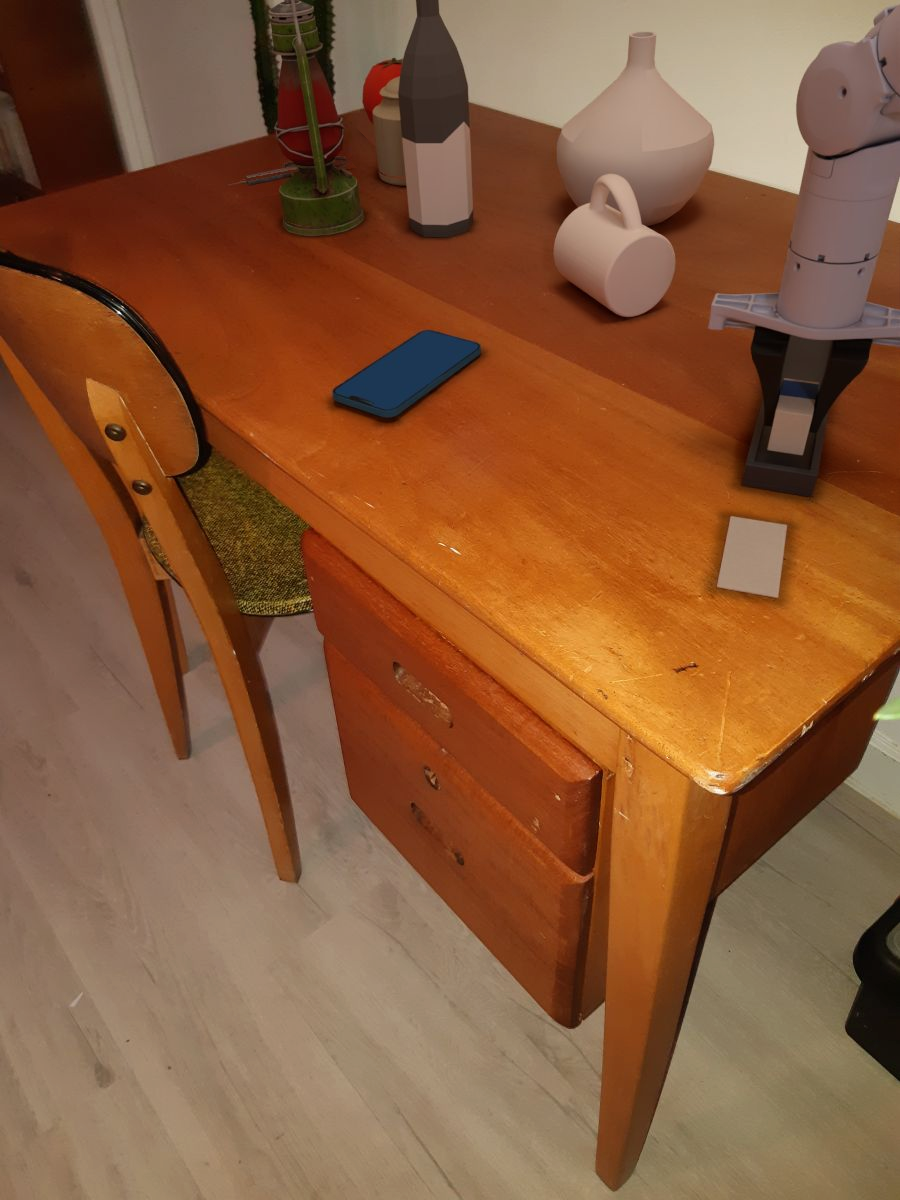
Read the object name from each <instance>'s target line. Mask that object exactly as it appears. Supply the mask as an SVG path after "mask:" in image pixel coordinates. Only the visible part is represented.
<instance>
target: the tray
mask: <svg viewBox="0 0 900 1200" xmlns="http://www.w3.org/2000/svg"><path fill="white" fill-rule="evenodd" d="M832 341H833V340H812V339H805V338H801V337H797V336H793V335H790V340H789V344H788V349H787V353H786V358H785V362H784V367H783V372H782V378H781V386H782V382H783V379H784V378H787V379H795V380H803V381H811V382H818V383H819V387H818V392H819V389H820V386H821V383H822V380H823V377H824V373H825V369H826V365H827V361H828V357H829V353H830V349H831V345H832ZM780 390H781V387H780ZM817 394H818V393H817ZM760 404H761V405H760V408H759V411H758V416H757V419H756V423H755V427H754V432H753V435H752V439H751V442H750V446H749V450H748V453H747V457H746V461H745V465H744V468H743V474H742V480H741V484H740V485H741V486H743V487H750V488H754V489H755V488H756V489H761V490H767V491H773V492H779V493H784V494H785V493H786V494H789V495H790V494H791V495H797V496H802V497H803V496H804V497H809V498H812V497H813V496H814V495H813V494H814V490H815V487H816V484H817V480H818V476H819V471H820V464H821V457H822V453H823V447H824V440H825V434H826V428H827V423H828V416H829V411H828V412H827V414H826V416H825V417H824V419H823V421H822V423H821V425H820V428H819V430H818V433H811V432H808V436H807V440H806V444H805V448H804V452H803V455H796V454H790V453H783V452H777V451H770V450H767V448H768V444H769V439H770V435H771V430H772V427H770V426H764V425H763V424H764V400H763V399H762V401H761V403H760Z"/></svg>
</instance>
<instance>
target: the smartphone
mask: <svg viewBox="0 0 900 1200" xmlns="http://www.w3.org/2000/svg"><path fill="white" fill-rule="evenodd" d="M481 345H482V344H480V343H479V342H476V341H473V340H470V339H466V338H462V337H459V336H455V335H451V334H448V333H444V332H440V331H436V330H433V329H423V330H421V331H419V332H417V333H415V334H414V335H412V336H411V337H409V338H408V339H407V340H404V342H402V343H400V344H399V345H397V346H396V347H394V348H393V349H391V350H389V352H387V353H385V354H383V355H382V356H380V357H379V358H377V359H375V360H374V361H373V362H371V363H370V364H368V365H367V366H366V367H363V368H362V369H360V370H359V371H358V372H356V373H354V374H353V375H351V376H350V377H348V378H347V379H345V380H344V381H342V382H341V383H339V384H338V385H337V386H335V387H334V388H332V389H331V393H332V399H333V401H335V402H337V403H340V404H342V405H346V406H349V407H350V408H351V407H352V408H355V409H357V410H360V411H364V412H366V413H368V414H369V413H370V414H373V415H375V416H378V417H381V418H385V419H386V418H387V419H388V418H394V417H396V416H398V415H399V414H401V413H402V412H403V411H405V410H406V409H408V408H409V407H410V406H412V405H413V404H415V403H416V402H417V401H419V400H420V399H421V398H423V397H424V396H426V395H427V394H428V393H429V392H431V391H432V390H434V389H435V388H436V387H438V386H440V385H441V384H442V383H443V382H445V381H446V380H447V379H449V378H450V377H451V376H453V375H455V374H456V373H457V372H458V371H460V370H461V369H462V368H463V367H465V366H467V365H468V364H469V363H471V362H472V361H473V360H475V359H476V358H478V357H479V356H480V355H481V354H482V346H481Z"/></svg>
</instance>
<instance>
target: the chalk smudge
mask: <svg viewBox="0 0 900 1200" xmlns="http://www.w3.org/2000/svg"><path fill="white" fill-rule="evenodd" d="M787 530H788V524H784V523H783V524H782V523H777V522H771V521H765V520H759V519H752V518H745V517H740V516H739V517H738V516H733V515H731V516H730V518H729V522H728V528H727V533H726V538H725V544H724V548H723V555H722V558H721V564H720V567H719V568H720V569H719V572H718V579H717V584H716V588H718V589H722V590H723V589H724V590H730V591H734V592H740V593H745V594H752V595H757V596H761V597H762V596H763V597H769V598H774V599H779V595H780V594H779V593H780V585H781V579H782V578H781V577H782V570H783V562H784V555H785V547H786V546H785V545H786V539H787V538H786V537H787Z"/></svg>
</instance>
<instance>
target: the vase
mask: <svg viewBox="0 0 900 1200" xmlns="http://www.w3.org/2000/svg"><path fill="white" fill-rule="evenodd" d="M656 44H657V33H656V32H654V31H635V32H631V33H629V35H628V49H627V61H626V65H625V67H624V69H623V70H622V71H621V73H620V74H619V76H618V77H617V78H616V79H615V80H614V81H613V82H612V83H611V84H609V85H608V86H607V87H606V88H605V89H604V90H602V91H601V93H600V94H598V95H597V96H596V97H595V98H594V99H593V100H592V101H591V102H590V103H588V104H587V105H586V106H585V107H583V108H582V109H581V110H580V111H579V112H577V114H575V115H574V116H572V118H571V119H569V120H568V121H567V122H565V123H564V124H563V125H562V128H561V131H560V133H559V136H558V139H557V141H556V165H557V168H558V171H559V174H560V177H561V180H562V182H563V186H564V188H565V191H566V193H567V195H568V197H570V199H571V200H572V201H573V203H574V204H575V206H576V207H577V208H579V207H580V206H582V205H585V204H588V203H590V201H591V194H592V190H593V187H594V184H595V182H596V181H597V180H598V179H599V178H600V177H601V176H603V175H606V174H616V175H619V176H621V177H623V178H624V179H625V180H626V181H627V182H628V183H629V185H630V186H631V188H632V190H633V192H634V195H635V198H636V201H637V204H638V208H639V212H640V217H641V223H642V224H643V225H644V226H646V227H649V226H654V225H657V224H660V223H662V222H664V221H666V220H667V219H669V218H671V217H672V216H674V215H675V214H676V213H678V212H679V211H680V210H681V209H682V208H684V206H685V205H686V204H687V203H688V202H689V200H690V199H691V198H692V197H693V196H694V195H695V194H696V193H697V191H698V190H699V188H700V187H701V184H702V182H703V181H704V179H705V176H706V175H707V173H708V170H709V168H710V167H711V165H712V161H713V155H714V149H715V136H714V135H715V134H714V131H713V125H712V124H711V122H709V120H708V119H707V118H706V117H704V115H702V114H701V113H700V112H699V111H698V110H697V109H695V108H694V107H693V106H692V105H691V104H690V103H689V102H688V101H687V100H685V99H684V98H683V97H682V96H681V95H680V94H679V93H678V92H677V91H676V90H675V89H674V88H673V87H672V86H671V85H670V84H669V82H667V81H666V80H665V79H664V78H663V77H662V75H661V74H660V71H659V70H658V68H657V67H656V63H655V62H656V61H655V57H656V56H655V55H656ZM606 205H608V206H610V207H612V208H614V209H616V210H617V211H619V212H620V210H619V207H618V205H617V203H616V201H615V199H614V197H613V195H612V194H611V192H610V191H609V193H608V196H607V200H606Z"/></svg>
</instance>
